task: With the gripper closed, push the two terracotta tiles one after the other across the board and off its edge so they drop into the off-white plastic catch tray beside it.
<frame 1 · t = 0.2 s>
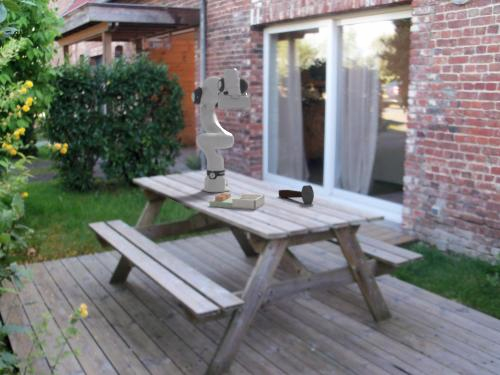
hand: (235, 116, 349), 52 cm above the table, tool tilted 20°, fingers open, 8 cm apart
tile a: (225, 197, 352), point 3 cm above the table, touching board
board: (226, 204, 348), on the table
tile b: (220, 200, 344), point 3 cm above the table, touching board
catch tray: (248, 205, 344), on the table
hammer: (294, 201, 362), on the table
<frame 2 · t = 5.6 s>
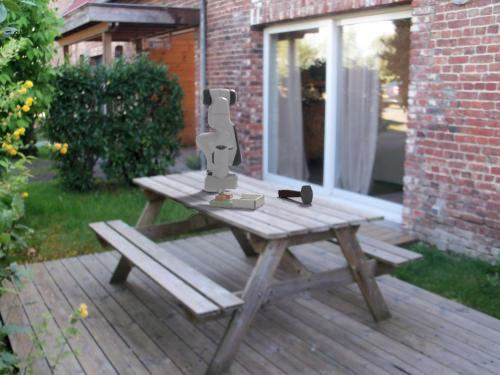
hand: (221, 195, 352), 4 cm above the table, tool pointing down, fingers closed
tile a: (227, 197, 352), point 3 cm above the table, touching gripper
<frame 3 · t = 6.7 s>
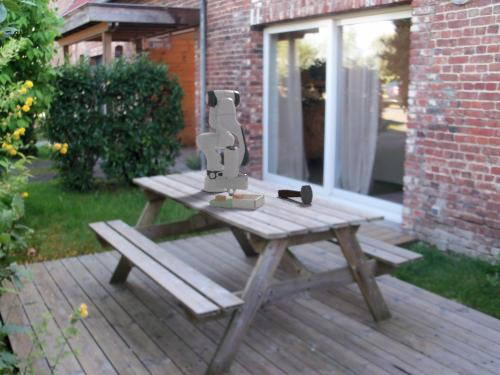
hand: (231, 196, 350), 4 cm above the table, tool pointing down, fingers closed
tile a: (237, 198, 350), point 3 cm above the table, touching gripper
everything else where it was.
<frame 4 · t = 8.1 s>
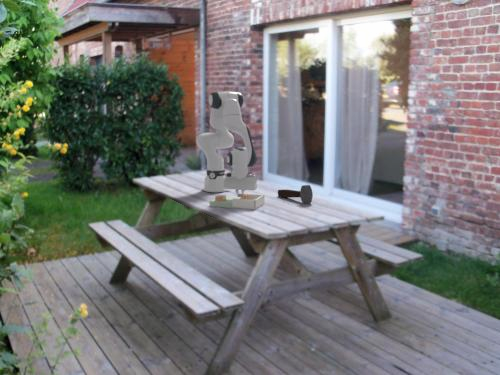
hand: (240, 196, 349), 4 cm above the table, tool pointing down, fingers closed
tile a: (243, 198, 348), point 3 cm above the table, tilted 90°, touching catch tray
everything else where it was.
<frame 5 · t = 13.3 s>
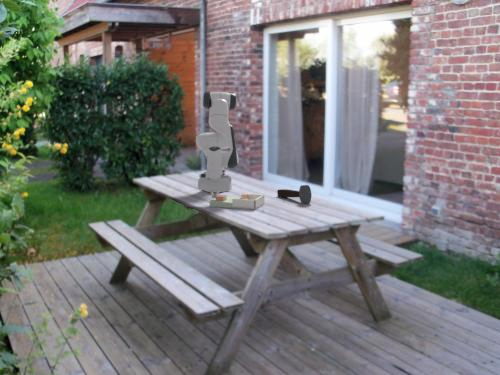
hand: (214, 197, 345), 4 cm above the table, tool pointing down, fingers closed
tile b: (221, 200, 344), point 3 cm above the table, touching gripper
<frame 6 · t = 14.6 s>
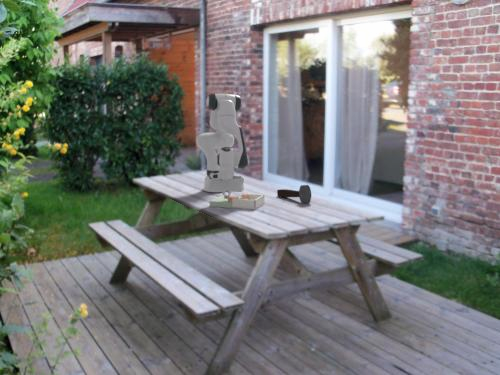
hand: (226, 198, 343), 4 cm above the table, tool pointing down, fingers closed
tile b: (233, 201, 342), point 3 cm above the table, touching gripper
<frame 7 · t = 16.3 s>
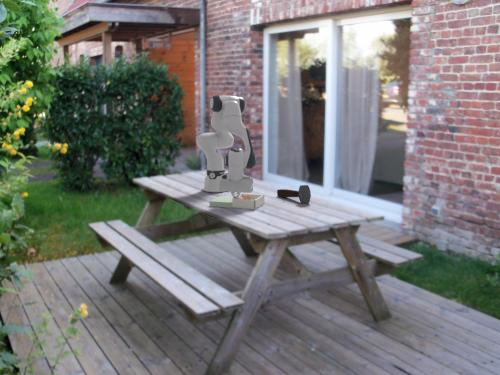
hand: (235, 199, 341), 4 cm above the table, tool pointing down, fingers closed
tile b: (240, 203, 341), point 2 cm above the table, tilted 31°, touching catch tray, gripper
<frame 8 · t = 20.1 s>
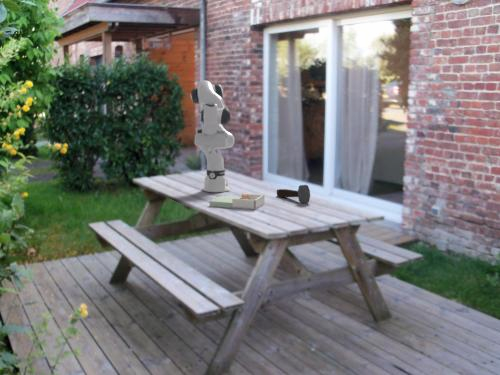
hand: (210, 153, 352), 29 cm above the table, tool pointing down, fingers closed
tile b: (240, 205, 341), point 1 cm above the table, touching catch tray
at the end: tile a inside the target area on the catch tray (6.3 cm from its centre), point 3.3 cm above the catch tray's base; tile b inside the target area on the catch tray (5.9 cm from its centre), point 0.8 cm above the catch tray's base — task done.
